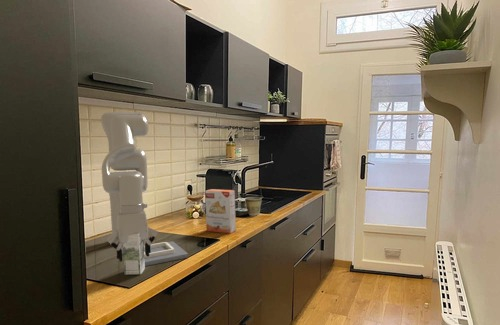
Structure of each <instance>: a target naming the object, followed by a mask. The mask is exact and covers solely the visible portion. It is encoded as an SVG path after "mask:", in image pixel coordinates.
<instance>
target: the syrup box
mask: <svg viewBox="0 0 500 325" xmlns="http://www.w3.org/2000/svg"><path fill="white" fill-rule="evenodd" d="M144 242H145V241H144V240H142V241H141V237H140V233H135V234H131V235H129V236H128V241H127V243H124V244H123V245H122V257H123V271H124V272H123V274H124V276H135V275H136V276H137V275H138V276H140V275H142V274H143V272H144V271H145V269H146V266H145V262H144V245H145V243H144Z"/></svg>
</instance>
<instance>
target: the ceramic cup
mask: <svg viewBox="0 0 500 325" xmlns="http://www.w3.org/2000/svg"><path fill="white" fill-rule="evenodd" d="M262 199H263V198H262V197H261V196H247V197H245V205H246V210H247V214H248V213H249V216H253V217H254V216H259V215H260V214H261V207H262V206H261V205H262Z"/></svg>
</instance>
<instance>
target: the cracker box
mask: <svg viewBox="0 0 500 325" xmlns="http://www.w3.org/2000/svg"><path fill="white" fill-rule="evenodd" d="M204 192H205V196H204V197H205V221H206V232H212V233H213V232H214V233H220V234H221V233H222V234H229V235H230V234H233V233H234V232H236V229H237V228H236V223H237V221H236V195H235V190H234V189H219V188H218V189H216V188H214V189H213V188H211V189H207V190H205V191H204Z"/></svg>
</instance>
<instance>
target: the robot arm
mask: <svg viewBox="0 0 500 325" xmlns="http://www.w3.org/2000/svg"><path fill="white" fill-rule="evenodd" d="M100 118H101V119H100V122H101V125H102V128H103V131H104V133H105V135H106V137H107V141H108V153H107V155H106V156H105V157H104V158H103V159H104V160H103V161H102V164H101V182H102V187H103V190H104V191H105V193H108V196H109V203H110V204H109V205H110V218H111V219H110V220H111V221H110V222H111V223H110V224H111V235H110V236H108V237H107V238H106V241H107V242H108V244H109V243H110V244H109V245H110V246H111V247H112V248H113V249H115V250H116V259H117V260H119V263H121V262H123V249H122V248H123V244H124V243H127V241H128V236H129V235H131V234H135V233H140V237H141V241H142V240H144V242H145V243H144V245H145V254H146V256H149V253H151V250H150V245H151V244H153V242H154V241H155V239H156V237H157V235H158V233H159V232H158V231H159V230H156V229H154V228H152V227H149V226H148V219H147V213H146V211H145V209H147V208H148V204H147V203H144V200H143V193H145V192H146V191H147V190H148V185H149V184H148V182H149V181H148V161H147V155H146V153H145V151H144V149H141V148H137V146H136V141H135V137H139V136H141V137H145V136H146V135H148V132H149V122H148V120H147V117H146V115H145V114H143V113H142V112H138V111H109V112H104V113H103V114H101V117H100ZM136 148H137V149H136ZM110 168H111V170H113V172H111V171H110ZM149 232H150V233H151V236H149V235H150V234H149Z"/></svg>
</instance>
